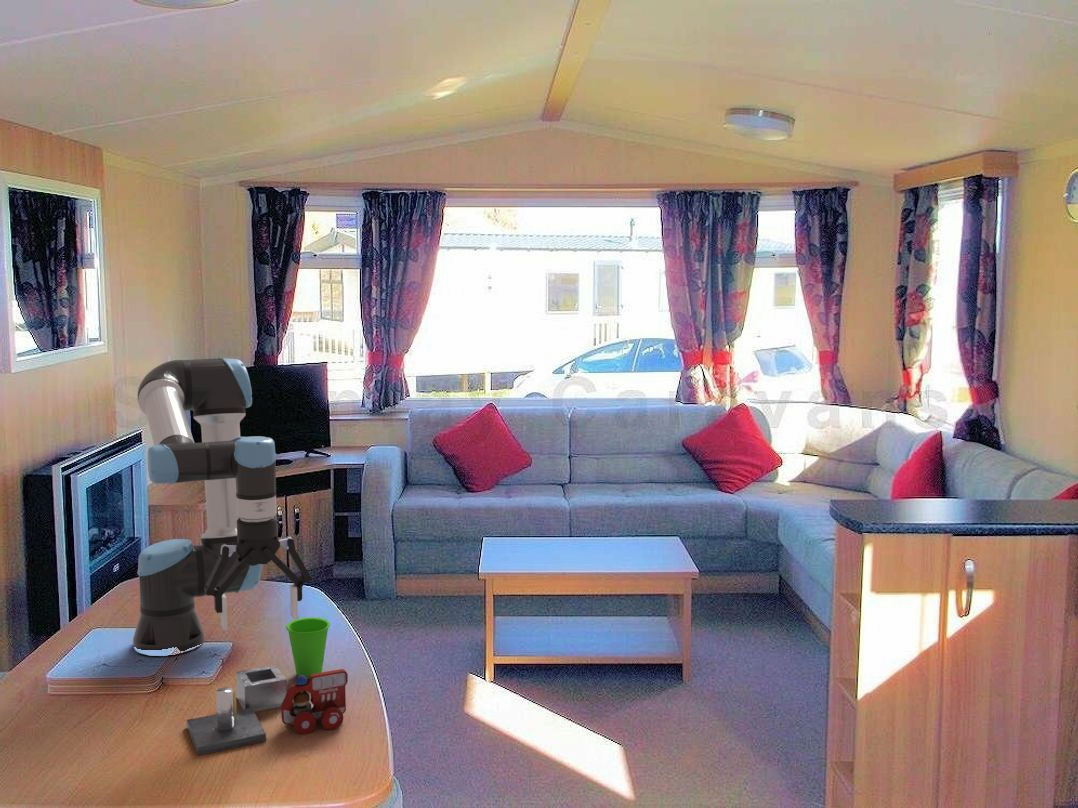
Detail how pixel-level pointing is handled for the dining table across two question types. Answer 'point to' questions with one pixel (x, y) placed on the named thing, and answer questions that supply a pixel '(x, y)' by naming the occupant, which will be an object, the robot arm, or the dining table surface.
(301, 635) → the cup
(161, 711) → the dining table surface
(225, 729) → the shaft stand
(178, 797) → the dining table surface
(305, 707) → the toy fire truck
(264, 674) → the grey block with hole
